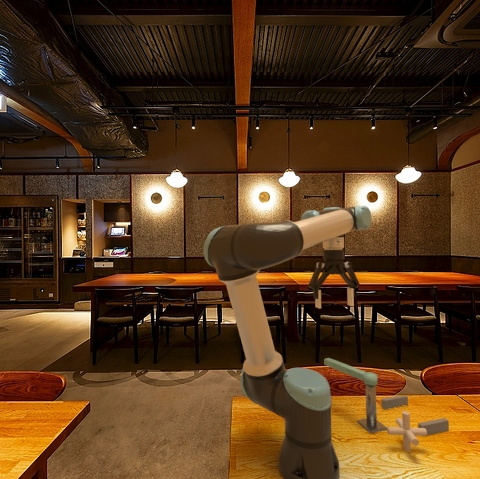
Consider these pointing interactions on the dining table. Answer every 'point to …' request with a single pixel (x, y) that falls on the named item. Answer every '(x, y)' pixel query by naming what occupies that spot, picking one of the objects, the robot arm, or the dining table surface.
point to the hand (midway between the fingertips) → (334, 306)
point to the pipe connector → (407, 431)
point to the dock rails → (430, 426)
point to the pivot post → (371, 412)
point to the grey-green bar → (352, 371)
